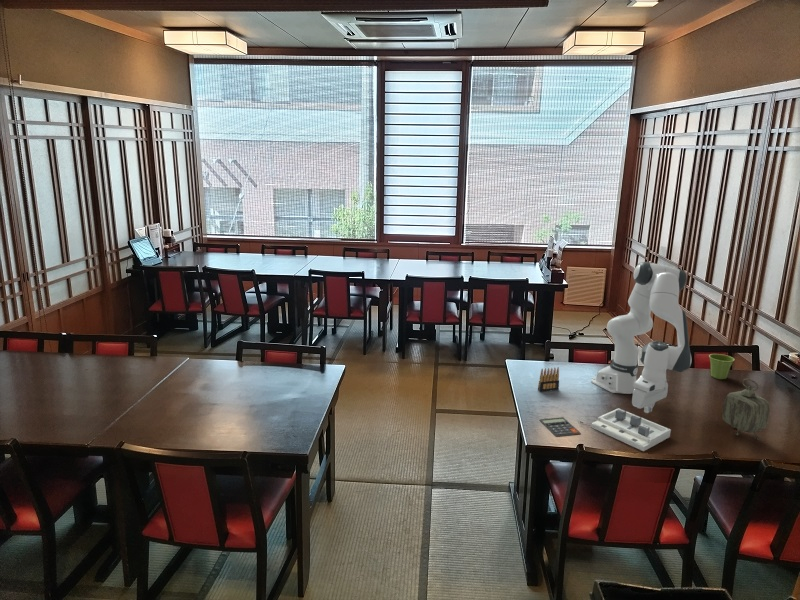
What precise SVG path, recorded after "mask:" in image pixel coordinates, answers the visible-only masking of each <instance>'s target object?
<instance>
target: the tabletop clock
mask: <svg viewBox="0 0 800 600" xmlns="http://www.w3.org/2000/svg"><path fill="white" fill-rule="evenodd" d="M745 381H749V382H752V383H753V384H755V385H756V388H752V386H751V385H748V386H747V385H746V384H745V383H744V382H745ZM741 382H742V385H743V386H744V387H745V389H743V390H738V391H733V392H729V393H728V394H727V395H726V397H725V398H724V402H723V407H722V412H721V413H722V414H721V415H722V420H723V421H724V422H725V423H727V424H729V425H730V426H731V428H733V429H735V428H736V429H737V430H736V431H735V432H734V435H735V436H740V431H742V432H744V433H749V434H753V435H754V439H755V440H757V439H758V440H760V436H759V435H757V432H760V431H764V430H765V429H766V427H767V425H768V422H769V419H770V413H771V411H770V410H771V407H770V402H769V401H768V400H766V399H765V398H763V397H761V396H760V395H758V394H756V392H755V391H758V389H759V384H758V383H757V382H756V381H754V380H753V379H750V378H744V379H743V380H742V381H741Z"/></svg>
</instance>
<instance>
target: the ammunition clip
mask: <svg viewBox="0 0 800 600" xmlns="http://www.w3.org/2000/svg"><path fill="white" fill-rule="evenodd" d="M543 369H544V370H543ZM559 387H560V368H559V366H558V367H557V368H556V367H551V368H549V367H548V368H546V367H544V368H541V370H540V375H539V381H538V386H537V391H538V392H539V393H541V392H543V393H544V392H549V391H550V390H552V391H559ZM550 392H551V391H550Z"/></svg>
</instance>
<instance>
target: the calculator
mask: <svg viewBox="0 0 800 600" xmlns="http://www.w3.org/2000/svg"><path fill="white" fill-rule="evenodd" d="M539 422H540V423H541V424H542V425H543V426H544V427H545V428H546V429H547V430H548V431H549V432H551V434H553V436H554V437H555V438H557V437H566V436H576V435H577V436H578V435H581V432H580V431H579V430H578V429H577V428H576V427H575V426H574V425H572V423H570V421H568V420H567V419H566V418H565V417H564V416H561V417H551V418H549V417H548V418H541V419H539Z"/></svg>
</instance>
